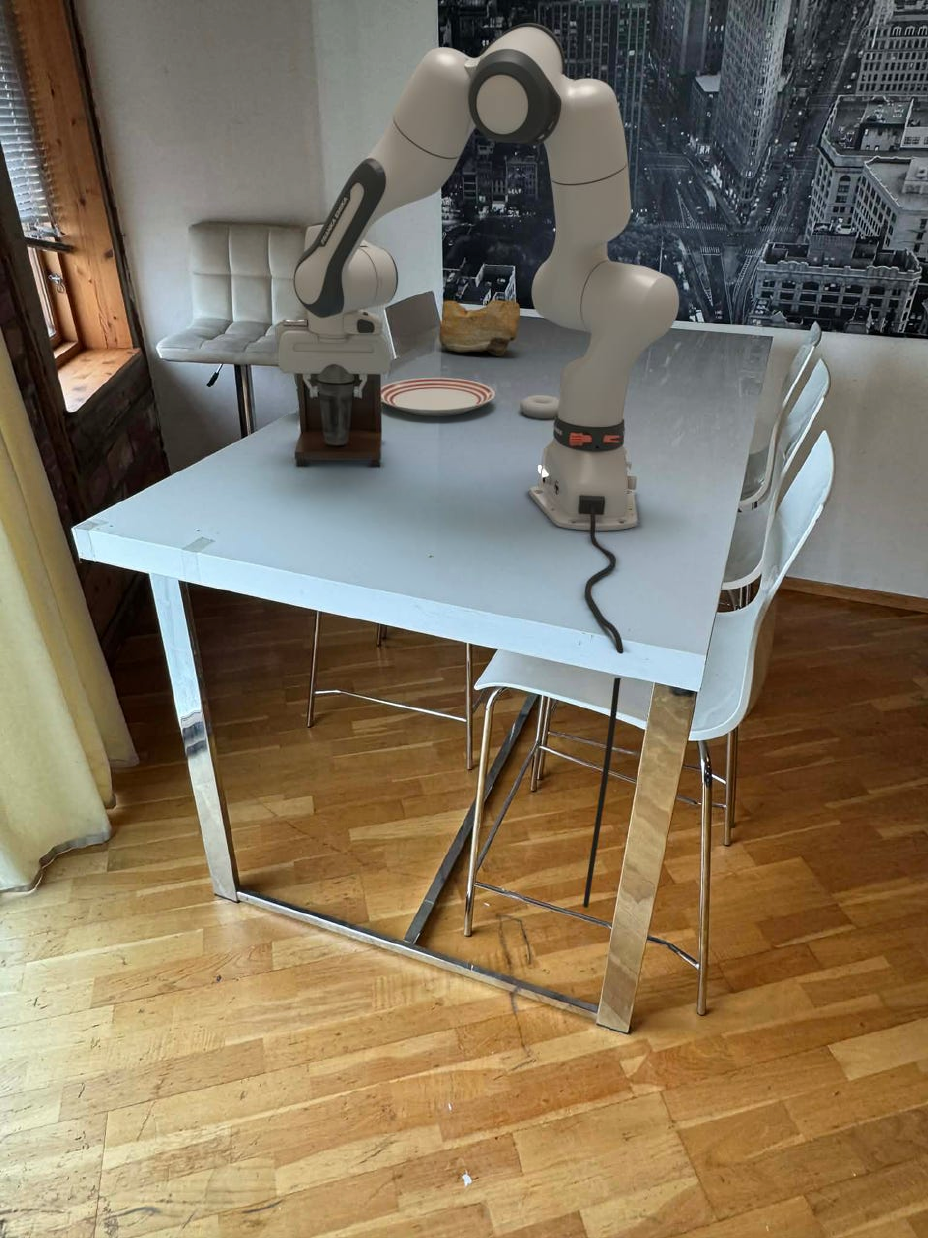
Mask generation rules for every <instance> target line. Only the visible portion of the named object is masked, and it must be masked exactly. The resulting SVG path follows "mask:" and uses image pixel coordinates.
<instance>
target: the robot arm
mask: <svg viewBox="0 0 928 1238" xmlns="http://www.w3.org/2000/svg"><path fill="white" fill-rule="evenodd" d="M565 58H566V57H565V54H564V49H563V47H562V44H561V42H560V41H559V39H558V38H557V36H556V35H555V34H554V33H553V32H552V31H551V29H549V28H548V27H546V26H544V25H543V24H539V23H536V22H535V23H534V22H525V23H521V24H518V25H515V26H512V27H511V28H509V29H507V30H506V31H504V32H503V33H501V34H500V35H499V36H498V37H497V38H495V39H493V40H492V41H490V42H489V43H488V44H486V45H484V46H483V47H482V49H480V52H479V55H478V56H477V57H471V56H468V55H467V54H465V53H464V52H462V51H460V50H459V49H458V50H457V49H455V48H452V47H446V46H445V47H444V46H442V47H441V46H440V47H436V48H433V49H431V50H429V51H428V52H427V53H426V54H425V55H424V56H423V57H422V58H421V61H420V62H419V63H418V65H417V67H416V68H415V69H414V72H413V73H412V74H411V77H410V78H409V79H408V82H407V83H406V85H405V87H404V89H403V91H402V93H401V95H400V97H399V100H398V101H397V104H396V107H395V109H394V111H393V114H392V116H391V119H390V121H389V122H388V125H387V126H386V128H385V130H384V132H383V133H382V135H381V137H380V139H378V141H377V143H376V144H375V146H374V147H373V149H372V150H371V151H370V152H369V154H368V155H367V156H366V157H365V158H364V160H362V161H361V162H360V163H359V165H357V167H356V168H355V169H354V170H353V171H352V172H351V174H350V176H349V177H348V179H347V180H346V182H345V184H344V186H343V188H342V189H341V191H340V193H339V195H338V197H337V199H336V200H335V203H334V204H333V206H332V208H331V210H330V211H329V214H328V216H327V217H326V219H325V220H324V221H320V222H315V223H312V224H311V225H309V226H308V227H307V229H306V232H305V238H304V252H303V253H302V254H301V256H300V257H299V259H298V261H297V263H296V267H295V270H294V273H293V281H292V283H293V289H294V292H295V293H294V294H295V296H296V297H297V300H298V301H299V302H300V304H301V305H302V306H303V307H304V308H305V309H306V311H307V319H305V318H304V319H300V318H299V319H288V318H285V319H282V321H279V322H278V323H277V324H276V325H275V327H274V336H275V337H274V338H275V341H276V343H277V344H278V345H279V346H278V369H279V370H280V371H281V372H282V373H283V374H294V373H303V380H304V381H305V383H306V385H307V386H308V388H310V397H311V398H318V397H319V392H318V387H317V386H314V385H313V383H312V382H311V380H310V379H311V376H312V375H311V374H320V373H321V371H322V370H323V369H324V368H325V367H326V366H328V365H331V364H337V365H340V366H342V367H343V368H345V369H346V371H348V373H349V374H359V378H360V380H361V382H360V384H359V386H354V398H362V388H363V386H364V385H365V383H366V381H367V374H381V375H387V374H388V373H389V371H390V370H391V357H390V350H389V349H390V348H389V344H388V339H387V336H386V334H385V332H383V331H382V330H383V319H382V317H381V316H380V315H378V314H376V313H373V312H370V311H367V310H366V309H371V308H377V307H381V306H384V305H386V304H388V303H390V302H391V301H392V300H393V298H394V297H395V295H396V293H397V290H398V286H399V272H398V267H397V263H396V261H395V260H394V258H393V256H392V255H391V253H389V252H388V250H386V249H385V248H382V247H378V246H377V245H374V244H372V243H371V242H369V241H367V240H365V237H366V235H367V234H368V232H369V231H370V229H371V228H372V226H373V225H374V224H375V223H376V222H377V221H378V220H380V219H381V218H383V217H384V216H385V215H387V214H389V213H391V212H393V211H395V210H397V209H399V208H401V207H403V206H406V205H409V204H412V203H415V202H418V201H421V200H424V199H427V198H429V197H431V196H433V195H435V194H436V193H438V192H439V190H440V189H442V187H443V186H444V185H445V183H446V182H447V181H448V180H449V178H450V177H451V176H452V174H453V172H454V170H455V169H456V166H457V164H458V162H459V160H460V158H461V156H462V154H463V152H464V149H465V148H466V145H467V143H468V141H469V139H470V137H471V135H472V133H473V132H474V130H475V129H476V128H477V129H478V131H479V132H480V133H481V134H482V135H484V136H485V137H486V138H488V139H490V140H492V141H495V142H499V143H502V144H503V143H504V144H521V145H527V146H532V147H538V146H540V145H542V144H543V145H544V147H545V150H546V154H547V160H548V161H547V162H548V169H549V174H550V175H549V177H550V182H551V191H552V201H553V209H554V220H555V236H554V243H553V247H552V251H551V253H550V255H549V257H548V258H547V259H546V261H544V262H543V263H542V264H541V265H540V266H539V268H538V270H537V271H536V273H535V275H534V278H533V280H532V284H531V300H532V305H533V308H534V310H535V311H536V313H537V314H538V315H539V316H540V317H542V318H544V319H546V320H547V321H549V322H552V324H553V323H554V324H556V326H557V325H558V326H559V327H562V328H566V329H570V330H576V331H579V332H585V333H589V334H590V341H589V345H588V348H587V350H586V352H585V354H583V355H580V356H578V357H575V358H574V359H572V360H571V361H569V362H568V363H567V364H566V365H565V366H564V368H563V370H562V372H561V374H560V383H559V394H558V399H559V405H558V413H557V414H556V415H555V417H554V421H553V424H552V425H553V426H552V428H553V431H552V432H553V433H552V437H553V439H552V441H550V443H549V444H548V445H546V446H545V448H543V451H542V458H541V464H540V465H538V467H537V468H538V469H537V470H538V472H539V482H538V485H535V486H533V487H531V488H530V489H529V493H528V494H529V497H530V498H531V499H532V500H533V501H534V502H535V504H536V505H538V507H539V508H540V510H541V511H543V512H544V514H545V515H546V516H547V517H548V518H549V520H550V521H551V522H552V523H553V524H554V525H555V526H557V527H559V528H563V529H568V530H569V529H570V530H579V531H589V537H590V540H591V543H592V545H593V546H594V547H595V548H597V549H598V550H599V551H600V552H601V553H602V554H603V555H605V556H606V557H608V558H609V559H610V562H609V564H608V565H607V566H606V567H605V568H603V569H601V570H600V571H598V572H596V573H595V574H593V575H591V577H589V579H588V580H587V581H586V583H585V587H584V594H585V599H586V601H587V603H588V604H589V606H590V608H591V610H592V611H593V613H594V615H595V617H596V618H597V620H598V621H599V623H601V624H602V626H604V627H605V628H606V629H608V630H609V631H610V632H611V634H612V636H613V639H614V641H615V646H616V651H617V653H618V654H624V646H623V645H624V644H623V641H622V637H621V634H620V633H619V631H618V629H617V628H616V626H614V624H613V623H611V622H610V621H609V620H607V619H606V618H605V616H603V614H602V612H601V611H600V609H599V607H598V606H597V603H596V602H595V600H594V599H593V596H592V592H591V588H592V584H594V582H595V581H597V580H598V579H600V578H602V577H603V576H605V575H606V574H608V573H609V572H611V571H612V570H613V569H614V568H615V566H616V562H617V557H616V556H615V555H614V553H612V552H611V551H610V550H607V549H605V548H604V547H602V546H601V544H600V543H599V542H598V540H597V538H596V531H598V532H599V531H601V532H602V531H620V530H627V529H632V528H635V527H637V526H638V513H637V504H636V496H635V490H636V488H637V482H638V481H637V480H638V479H637V476H636V475H628V471H632V466H633V462H631V461H627V453H628V449H627V448H626V446H624V443H625V434H626V427H625V419H624V411H625V404H626V398H627V392H628V386H629V381H630V378H631V375H632V371H633V369H634V367H635V365H636V363H637V362H638V360H639V358H640V357H641V355H642V354H643V353H644V351H645V350H646V349H647V348H648V347H650V345H652V344H653V343H655V342H657V341H658V340H660V339H662V338H663V337H664V336H665V335H666V334H667V333H668V332H669V331H670V329H671V328H672V326H673V324H674V323H675V321H676V319H677V316H678V313H679V308H680V294H679V291H678V287H677V286H676V282H675V281H674V280H673V278H672V277H670V276H669V275H666V274H665V273H662V272H660V271H657V270H656V269H653V268H651V267H648V266H644V265H637V264H631V263H624V262H618V261H612V260H611V259H610V258H609V256H608V242H610V241H612V240H613V239H615V238H616V237H618V236H619V235H620V234H621V233H622V232H623V231H624V230H625V228H626V227H627V225H628V223H629V221H630V218H631V215H632V201H631V187H630V174H629V162H628V161H629V159H628V151H627V142H626V137H625V136H626V135H625V129H624V124H623V119H622V115H621V110H620V107H619V104H618V100H617V96H616V94H615V91H614V90H613V88H612V87H611V85H609V84H608V83H606V82H604V81H602V80H599V79H596V78H580V79H573V78H569V77H567V76H566V59H565ZM621 679H622V677H614V679H613V685H612V686H613V687H612V695H611V705H610V706H611V707H610V714H609V721H608V722H609V724H608V730H607V739H606V745H605V754H604V762H603V766H602V767H603V768H602V775H601V782H600V783H601V784H600V789H599V796H598V803H597V809H596V816H595V822H594V828H593V835H592V842H591V848H590V856H589V861H588V869H587V875H586V883H585V888H584V889H585V890H584V897H583V904H582V907H583V908H584V909H587V908H589V904H590V898H591V891H592V885H593V878H594V870H595V865H596V864H595V863H596V857H597V852H598V844H599V838H600V832H601V826H602V819H603V813H604V805H605V799H606V792H607V786H608V780H609V772H610V765H611V760H612V752H613V744H614V738H615V737H614V736H615V728H616V721H617V712H618V705H619V695H620V686H621Z"/></svg>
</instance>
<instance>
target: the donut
mask: <svg viewBox="0 0 928 1238" xmlns="http://www.w3.org/2000/svg"><path fill="white" fill-rule="evenodd" d="M519 403H520V404H519V407H520V409H519V410H520V411H521V412H522V414H523V415H525V416H527V417H530V418H533V419H543V420H546V419H555V415H556V414H557V413H558V405H559V398H557V397H555V396H551V395H545V394H535V395H529V396H526V397H524V398H523V399H522V400H521V401H520V402H519Z"/></svg>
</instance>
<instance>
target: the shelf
mask: <svg viewBox="0 0 928 1238" xmlns="http://www.w3.org/2000/svg"><path fill="white" fill-rule="evenodd" d="M311 375H312V376H311V379H310V380H311V382H312V383H313V385H314V386H317V382H316V378H317V374H311ZM381 376H382V374H367V381H366V383H365V385H364V386H363V388H362V398H354V391H353V393H352V405H351V417H350V429H349V437H348V443H346V444H343V445H331V444H327V443H325V442H324V434H323V426H322V416H321V406H320V396H319V397H318V398H311V397H310V388H308V386H307V385H306V383H305V381H304V380H303V373H296V377H297V386H296V389H297V388H298V396H297V401H298V415H299V428H300V433H299V436H298V440H297V443H296V446H295V449H294V460H296V461H295V462H296V467H302V468H303V467H306V465H307V460H338V461H339V460H342V461H346V460H347V461H350V460H354V461H355V460H357V461H359V460H360V461H361V460H364V461H365V460H369V461H371V462H370V467H371V468H380V467H381V459H382V440H383V425H382V423H383V421H382V402H381V388H382V377H381ZM354 379H355V383H354V386H359V384H360V382H361V380H360V378H359V374H354Z"/></svg>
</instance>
